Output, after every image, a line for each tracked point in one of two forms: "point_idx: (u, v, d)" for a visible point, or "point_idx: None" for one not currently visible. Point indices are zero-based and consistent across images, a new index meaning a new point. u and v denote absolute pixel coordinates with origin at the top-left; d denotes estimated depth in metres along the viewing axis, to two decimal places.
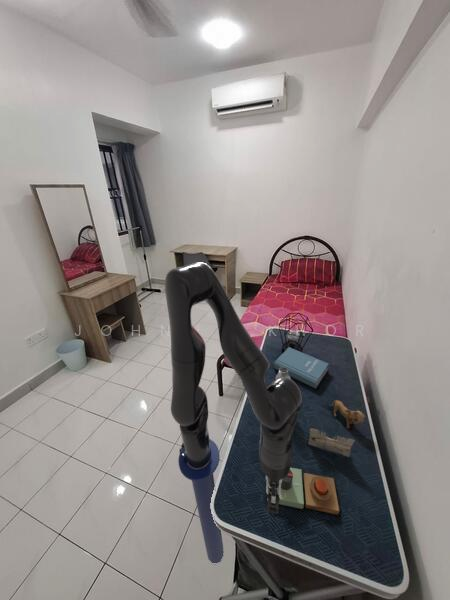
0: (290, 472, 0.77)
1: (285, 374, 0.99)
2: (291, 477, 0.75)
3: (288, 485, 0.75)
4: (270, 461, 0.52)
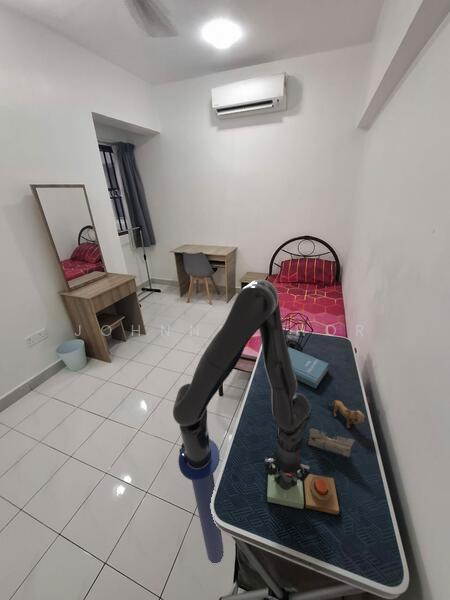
0: None
1: None
2: (291, 477, 0.75)
3: (288, 485, 0.75)
4: None
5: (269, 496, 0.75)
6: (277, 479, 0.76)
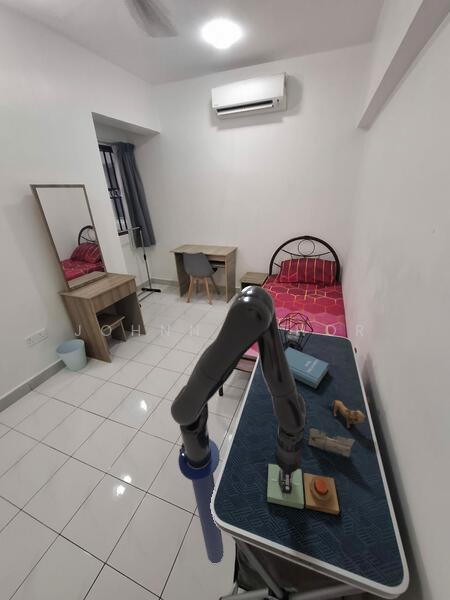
0: None
1: None
2: None
3: None
4: (285, 457, 0.67)
5: (269, 496, 0.75)
6: None
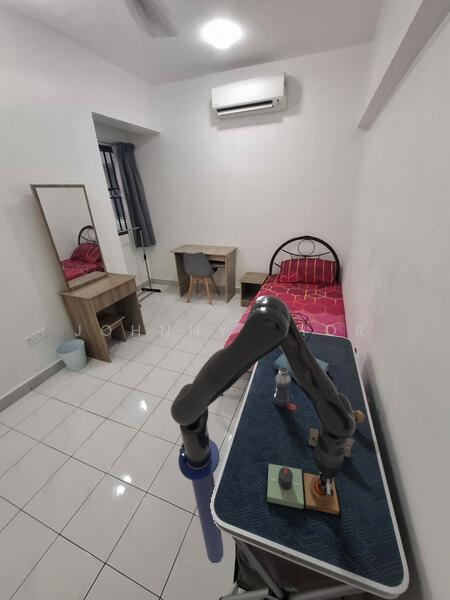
0: (283, 469, 0.78)
1: (285, 374, 0.99)
2: (287, 469, 0.77)
3: None
4: (328, 461, 0.64)
5: (269, 496, 0.75)
6: None
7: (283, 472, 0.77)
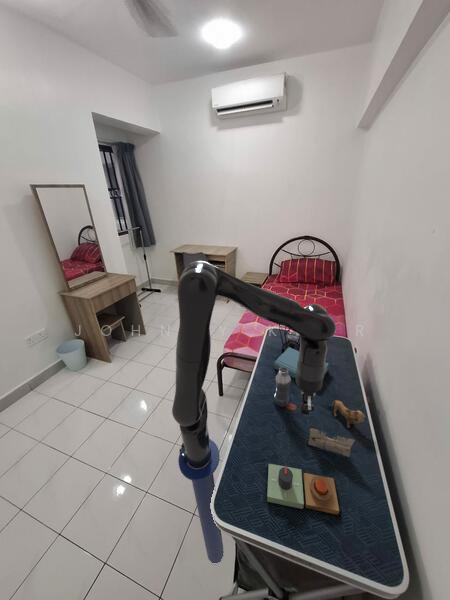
0: (283, 469, 0.78)
1: (285, 374, 0.99)
2: (287, 469, 0.77)
3: None
4: (308, 374, 0.65)
5: (269, 496, 0.75)
6: None
7: (283, 472, 0.77)
